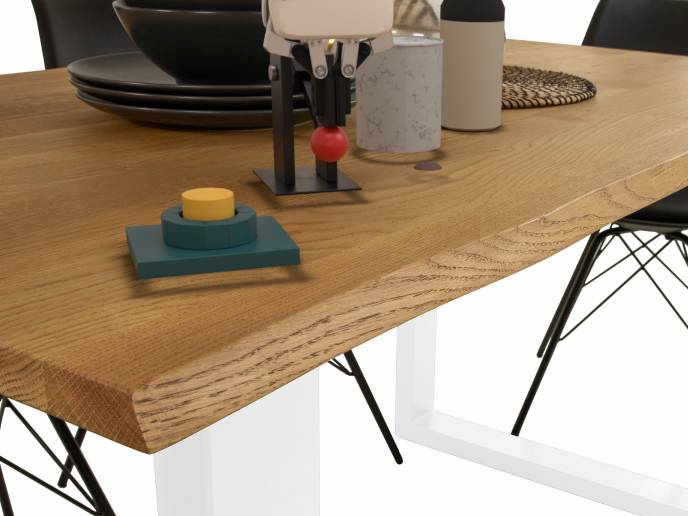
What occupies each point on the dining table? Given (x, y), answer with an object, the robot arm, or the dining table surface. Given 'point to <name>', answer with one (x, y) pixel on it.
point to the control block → (209, 244)
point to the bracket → (284, 172)
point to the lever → (324, 140)
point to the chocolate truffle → (427, 166)
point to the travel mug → (472, 63)
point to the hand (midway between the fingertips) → (331, 123)
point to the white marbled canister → (400, 97)
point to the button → (208, 204)
